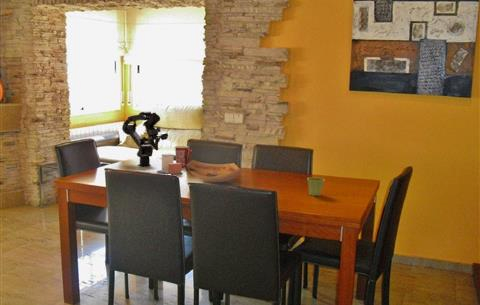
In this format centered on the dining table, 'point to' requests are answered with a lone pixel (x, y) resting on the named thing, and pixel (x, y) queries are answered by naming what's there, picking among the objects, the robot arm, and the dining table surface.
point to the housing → (172, 169)
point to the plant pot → (315, 186)
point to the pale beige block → (167, 160)
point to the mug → (182, 155)
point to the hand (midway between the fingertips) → (157, 150)
